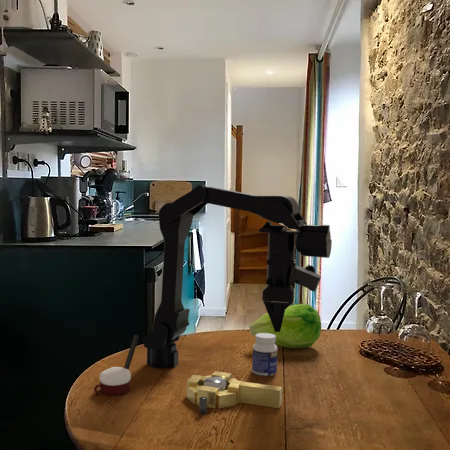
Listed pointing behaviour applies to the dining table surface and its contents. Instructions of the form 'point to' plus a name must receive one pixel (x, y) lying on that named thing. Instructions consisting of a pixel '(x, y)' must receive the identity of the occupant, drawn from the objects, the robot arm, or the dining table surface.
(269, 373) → the pill bottle
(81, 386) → the dining table surface
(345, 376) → the dining table surface
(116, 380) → the cocoa
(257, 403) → the wooden ring wrench
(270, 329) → the lettuce
